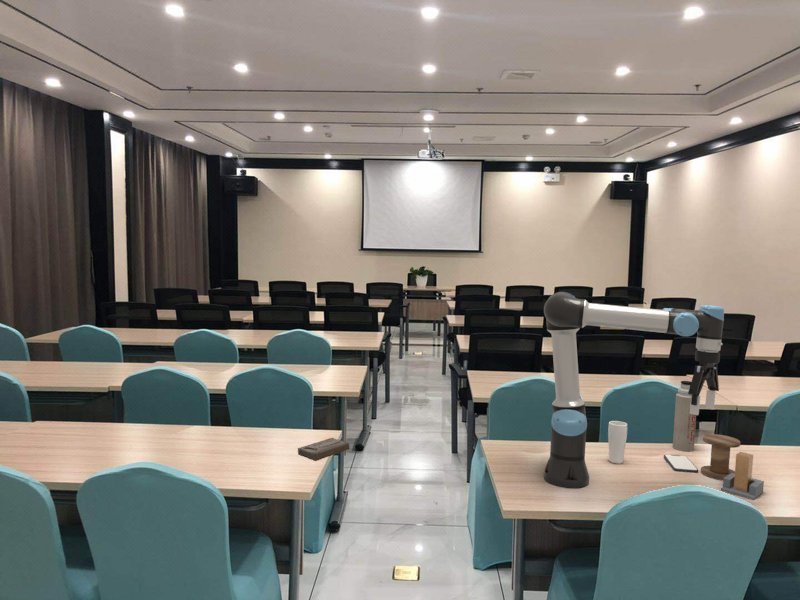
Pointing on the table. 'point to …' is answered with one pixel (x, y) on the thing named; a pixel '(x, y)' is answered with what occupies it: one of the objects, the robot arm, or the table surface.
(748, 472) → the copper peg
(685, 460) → the smartphone
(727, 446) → the bobbin
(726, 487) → the grey slotted holder
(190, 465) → the table surface
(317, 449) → the box
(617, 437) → the drinking glass
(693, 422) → the thermos bottle
